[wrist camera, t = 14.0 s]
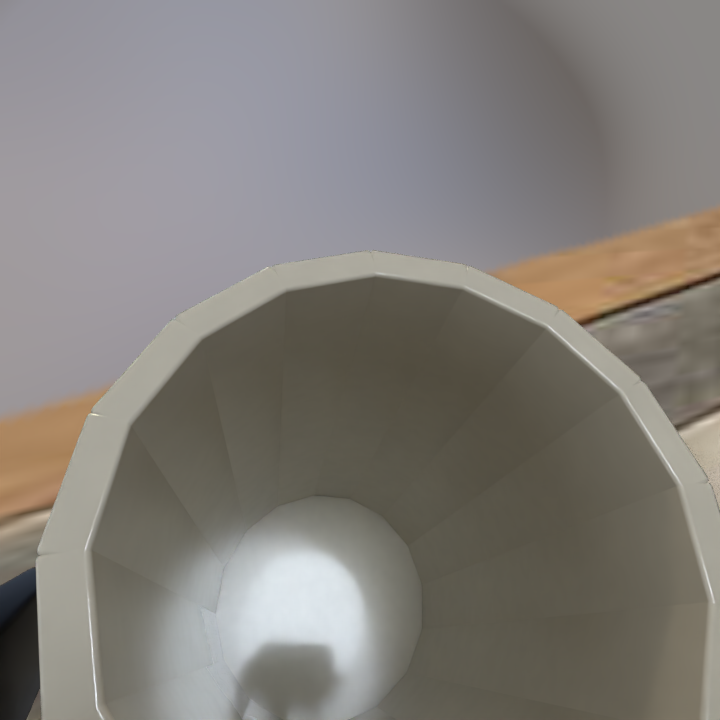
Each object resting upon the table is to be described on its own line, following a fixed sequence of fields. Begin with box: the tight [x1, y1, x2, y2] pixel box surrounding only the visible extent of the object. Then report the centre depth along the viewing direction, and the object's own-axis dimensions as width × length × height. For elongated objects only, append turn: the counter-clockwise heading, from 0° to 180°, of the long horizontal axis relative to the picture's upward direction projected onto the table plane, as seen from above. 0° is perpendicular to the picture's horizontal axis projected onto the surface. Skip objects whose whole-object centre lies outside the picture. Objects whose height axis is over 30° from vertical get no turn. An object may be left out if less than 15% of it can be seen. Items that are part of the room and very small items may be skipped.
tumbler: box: [35, 250, 720, 720], centre depth 10 cm, size 7×7×12 cm
